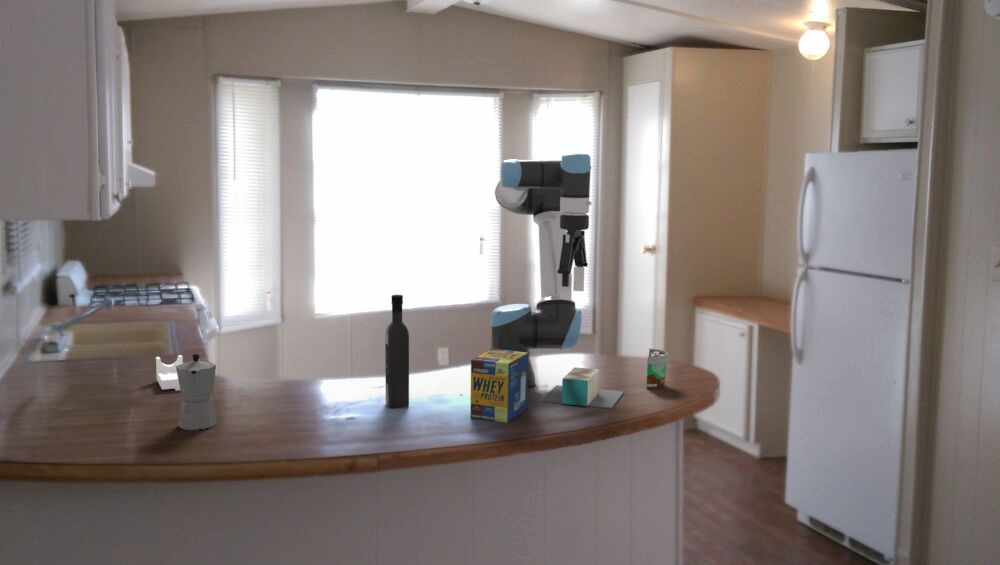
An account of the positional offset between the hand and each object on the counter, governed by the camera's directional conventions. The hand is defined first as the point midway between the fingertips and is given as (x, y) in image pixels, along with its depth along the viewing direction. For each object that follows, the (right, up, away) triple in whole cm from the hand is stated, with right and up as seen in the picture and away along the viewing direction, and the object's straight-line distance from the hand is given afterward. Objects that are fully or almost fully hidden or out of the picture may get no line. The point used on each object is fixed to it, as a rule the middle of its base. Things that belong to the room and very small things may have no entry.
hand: (572, 295), depth 242 cm
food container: (+28, -28, +32) cm, 51 cm away
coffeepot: (-94, -32, -12) cm, 100 cm away
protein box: (-19, -31, +1) cm, 37 cm away
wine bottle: (-47, -30, +7) cm, 56 cm away
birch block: (+1, -26, +8) cm, 28 cm away
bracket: (-113, -27, +25) cm, 119 cm away
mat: (+4, -29, +18) cm, 34 cm away
